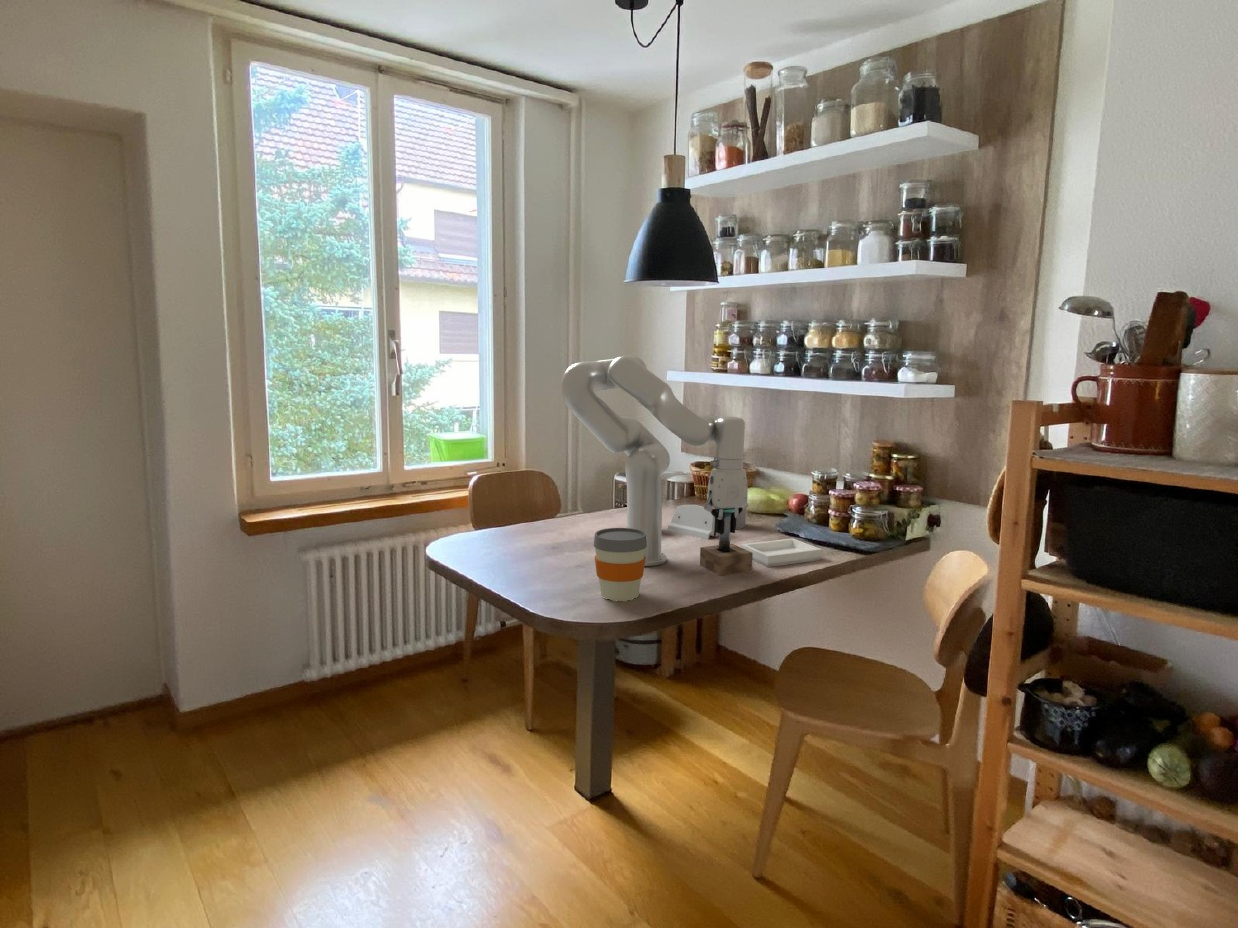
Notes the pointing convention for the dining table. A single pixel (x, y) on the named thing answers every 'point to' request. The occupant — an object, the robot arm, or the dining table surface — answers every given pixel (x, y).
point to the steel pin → (726, 531)
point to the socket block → (726, 560)
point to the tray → (782, 552)
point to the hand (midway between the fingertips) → (724, 531)
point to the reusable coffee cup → (620, 562)
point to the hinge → (693, 521)
